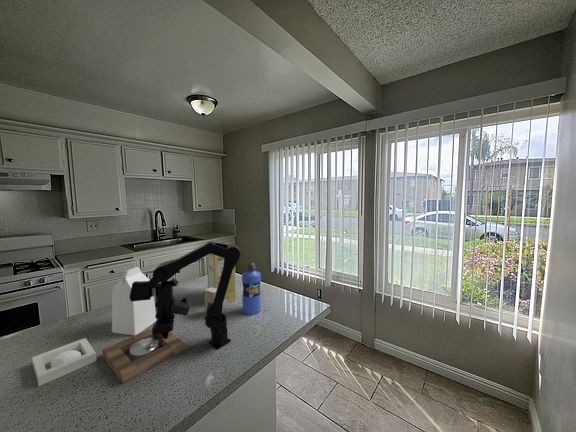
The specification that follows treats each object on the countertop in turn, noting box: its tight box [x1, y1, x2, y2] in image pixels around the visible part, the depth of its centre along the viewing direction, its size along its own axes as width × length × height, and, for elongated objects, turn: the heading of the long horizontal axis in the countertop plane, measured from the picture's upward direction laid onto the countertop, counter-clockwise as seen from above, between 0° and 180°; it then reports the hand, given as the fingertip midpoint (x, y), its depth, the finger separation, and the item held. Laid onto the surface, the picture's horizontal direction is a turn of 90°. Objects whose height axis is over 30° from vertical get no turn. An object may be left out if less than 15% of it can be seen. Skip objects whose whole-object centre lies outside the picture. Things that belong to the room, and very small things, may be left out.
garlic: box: [50, 350, 82, 368], centre depth 81 cm, size 8×7×4 cm
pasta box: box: [206, 254, 236, 305], centre depth 133 cm, size 18×10×28 cm, turn 31°
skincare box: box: [204, 287, 217, 312], centre depth 116 cm, size 6×4×12 cm
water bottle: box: [241, 261, 262, 316], centre depth 118 cm, size 9×9×25 cm
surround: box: [101, 327, 186, 385], centre depth 86 cm, size 20×20×3 cm
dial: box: [129, 331, 171, 362], centre depth 88 cm, size 14×9×7 cm, turn 142°
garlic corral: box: [31, 337, 97, 387], centre depth 81 cm, size 14×14×3 cm
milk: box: [111, 266, 157, 336], centre depth 103 cm, size 12×12×26 cm
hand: (166, 338), depth 88 cm, fingers closed
